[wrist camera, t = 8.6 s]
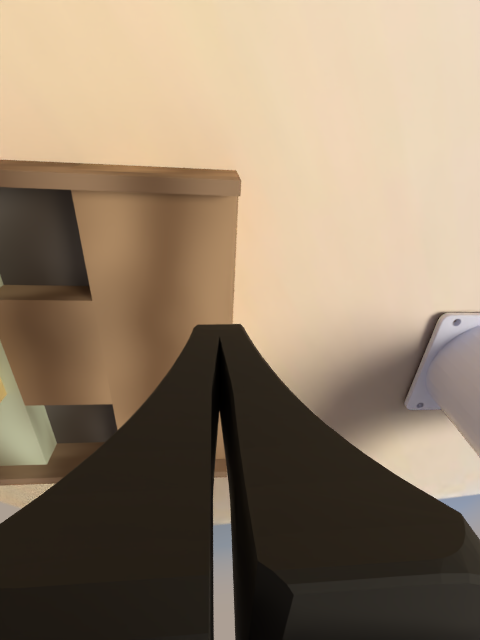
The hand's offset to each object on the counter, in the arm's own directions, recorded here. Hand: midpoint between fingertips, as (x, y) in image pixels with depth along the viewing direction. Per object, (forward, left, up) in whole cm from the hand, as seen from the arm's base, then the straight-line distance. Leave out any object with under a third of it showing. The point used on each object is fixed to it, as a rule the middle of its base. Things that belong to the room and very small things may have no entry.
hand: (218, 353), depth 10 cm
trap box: (+9, +6, -9) cm, 14 cm away
